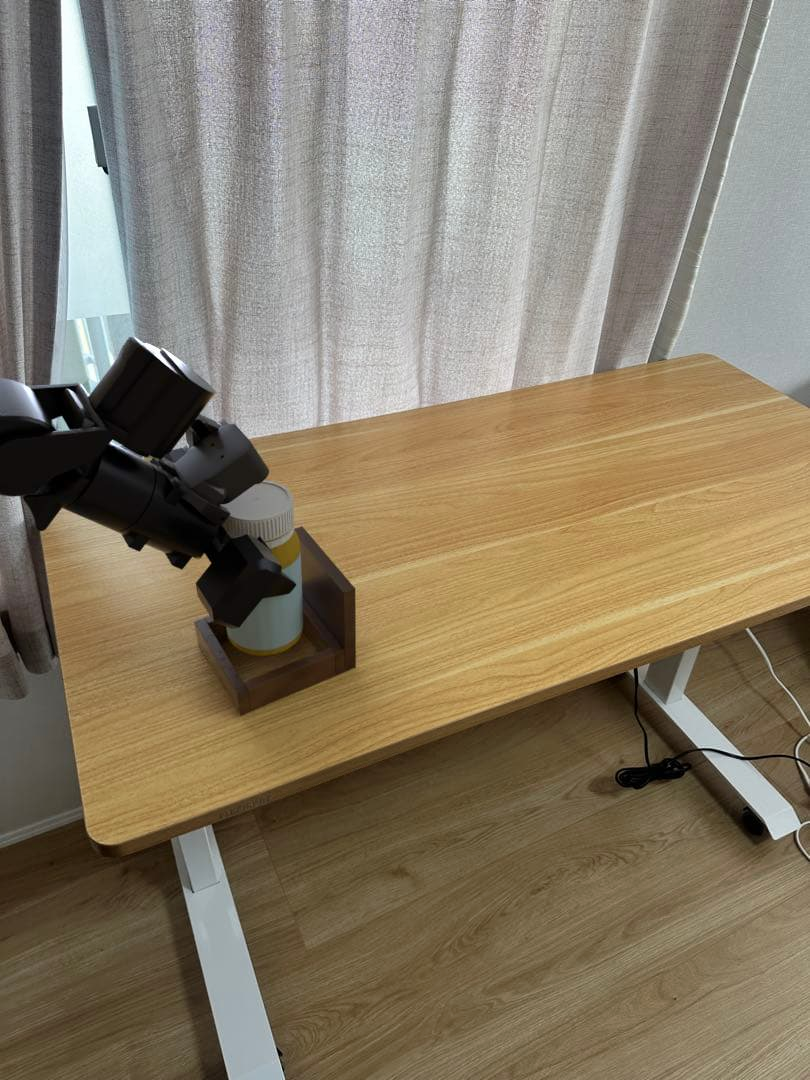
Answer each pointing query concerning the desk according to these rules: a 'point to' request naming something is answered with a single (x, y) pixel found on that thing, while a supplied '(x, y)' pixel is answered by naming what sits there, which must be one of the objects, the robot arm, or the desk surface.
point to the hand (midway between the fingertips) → (275, 565)
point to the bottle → (273, 521)
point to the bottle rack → (323, 624)
